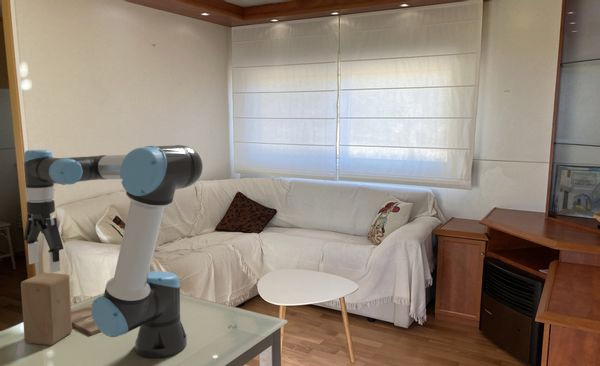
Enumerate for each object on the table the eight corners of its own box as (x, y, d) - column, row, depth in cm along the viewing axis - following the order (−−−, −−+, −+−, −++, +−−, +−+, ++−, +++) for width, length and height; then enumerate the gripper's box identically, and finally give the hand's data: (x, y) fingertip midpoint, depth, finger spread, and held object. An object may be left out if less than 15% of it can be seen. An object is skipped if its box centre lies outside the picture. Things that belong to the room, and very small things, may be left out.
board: (129, 320, 159) (129, 317, 159) (91, 335, 148) (91, 331, 148) (95, 306, 172) (94, 302, 172) (57, 318, 161) (57, 314, 161)
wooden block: (51, 346, 140) (47, 283, 138) (23, 343, 142) (19, 281, 140) (73, 332, 150) (70, 273, 148) (47, 329, 152) (43, 271, 150)
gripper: (73, 203, 137) (76, 272, 139) (34, 194, 151) (37, 257, 154) (47, 206, 131) (51, 278, 133) (9, 197, 145) (13, 262, 148)
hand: (44, 267), depth 143 cm, fingers open, 13 cm apart
